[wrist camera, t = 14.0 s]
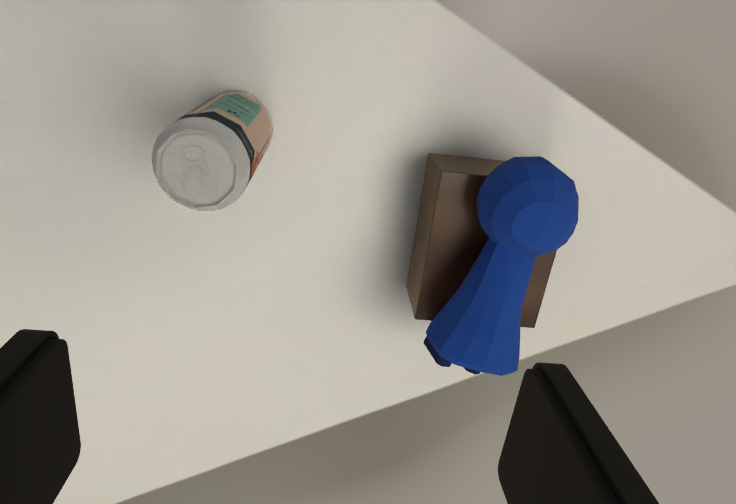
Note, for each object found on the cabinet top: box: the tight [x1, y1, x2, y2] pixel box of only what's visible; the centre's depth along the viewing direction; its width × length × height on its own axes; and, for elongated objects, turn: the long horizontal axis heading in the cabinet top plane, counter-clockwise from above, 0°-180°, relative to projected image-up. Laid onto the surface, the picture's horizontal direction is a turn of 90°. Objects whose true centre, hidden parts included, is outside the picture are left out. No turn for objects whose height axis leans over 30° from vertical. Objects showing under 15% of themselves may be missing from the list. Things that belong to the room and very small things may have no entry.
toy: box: [423, 157, 578, 376], centre depth 33 cm, size 7×6×15 cm
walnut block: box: [406, 153, 575, 328], centre depth 38 cm, size 11×9×5 cm
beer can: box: [152, 91, 273, 211], centre depth 30 cm, size 5×5×12 cm
